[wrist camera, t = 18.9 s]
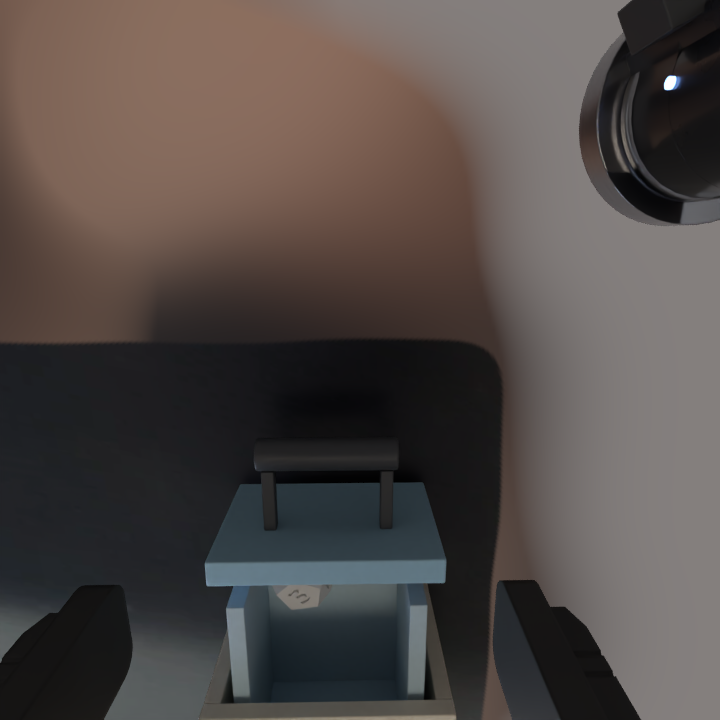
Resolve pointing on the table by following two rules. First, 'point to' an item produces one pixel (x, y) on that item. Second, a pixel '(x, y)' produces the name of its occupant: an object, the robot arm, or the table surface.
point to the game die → (302, 595)
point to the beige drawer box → (398, 716)
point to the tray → (328, 576)
